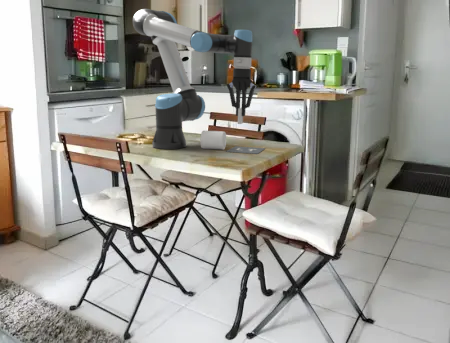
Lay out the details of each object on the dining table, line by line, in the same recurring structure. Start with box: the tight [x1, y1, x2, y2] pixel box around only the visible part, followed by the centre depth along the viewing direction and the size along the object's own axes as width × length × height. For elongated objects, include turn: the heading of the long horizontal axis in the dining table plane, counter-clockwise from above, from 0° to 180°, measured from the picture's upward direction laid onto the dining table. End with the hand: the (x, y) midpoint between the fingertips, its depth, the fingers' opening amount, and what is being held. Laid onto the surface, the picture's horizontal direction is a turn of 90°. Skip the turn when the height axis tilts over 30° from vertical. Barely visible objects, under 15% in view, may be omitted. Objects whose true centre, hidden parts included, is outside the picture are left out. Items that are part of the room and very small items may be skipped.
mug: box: [199, 130, 227, 150], centre depth 200 cm, size 12×10×8 cm
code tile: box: [225, 145, 266, 155], centre depth 196 cm, size 14×14×1 cm
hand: (240, 123), depth 195 cm, fingers closed
